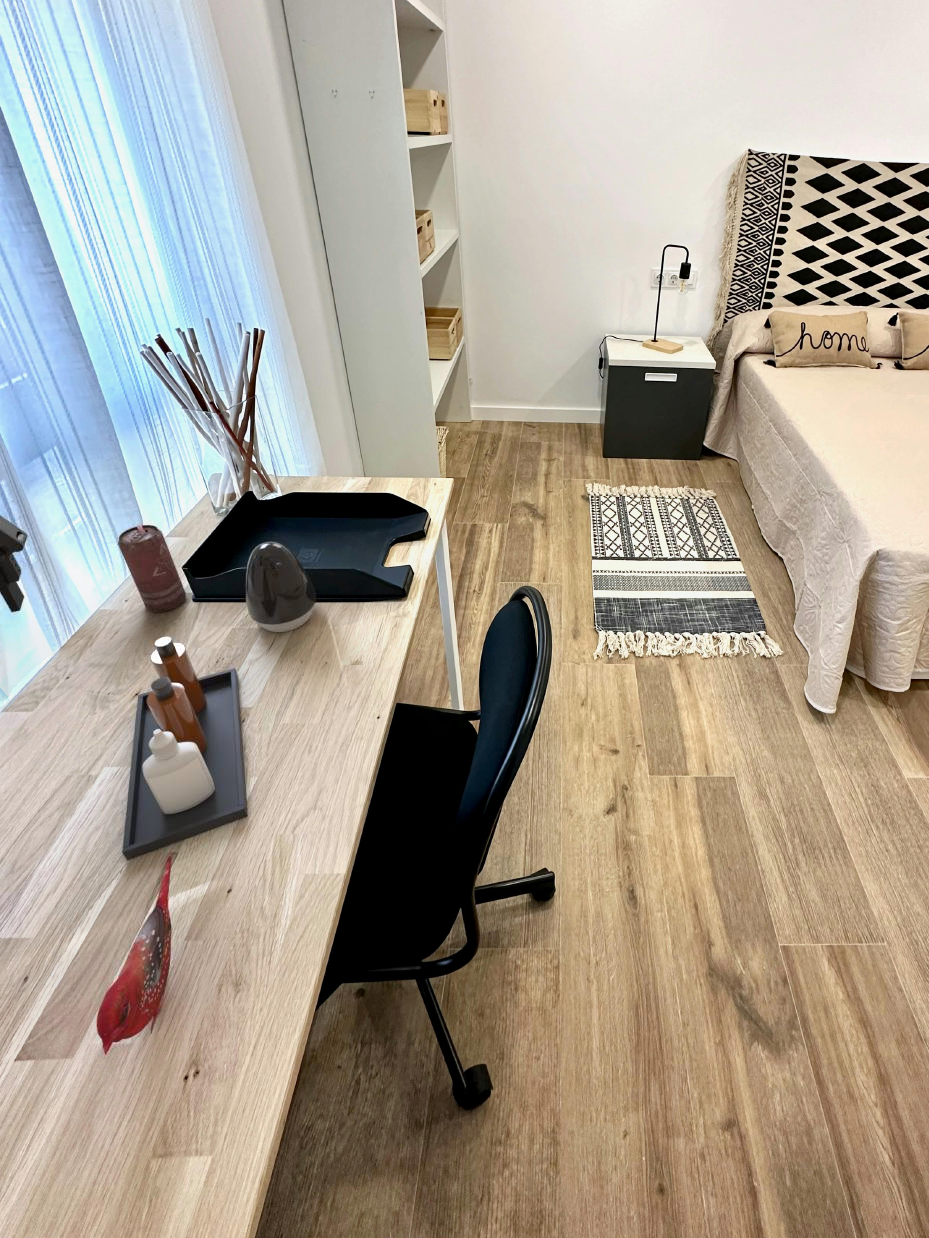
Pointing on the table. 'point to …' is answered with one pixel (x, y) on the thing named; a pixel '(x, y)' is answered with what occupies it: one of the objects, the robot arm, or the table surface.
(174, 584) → the can
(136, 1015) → the decorative bird figurine
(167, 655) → the amber bottle
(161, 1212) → the table surface
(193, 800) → the eye dropper bottle
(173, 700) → the amber bottle
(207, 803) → the tray
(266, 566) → the dark grey rounded cone
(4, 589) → the robot arm
